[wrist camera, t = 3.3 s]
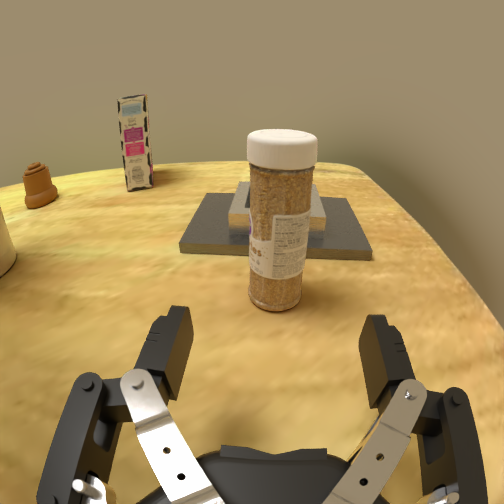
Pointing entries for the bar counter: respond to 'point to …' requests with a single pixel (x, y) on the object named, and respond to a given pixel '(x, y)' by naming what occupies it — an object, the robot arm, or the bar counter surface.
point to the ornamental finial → (38, 186)
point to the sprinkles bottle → (279, 214)
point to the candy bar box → (135, 141)
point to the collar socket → (237, 227)
